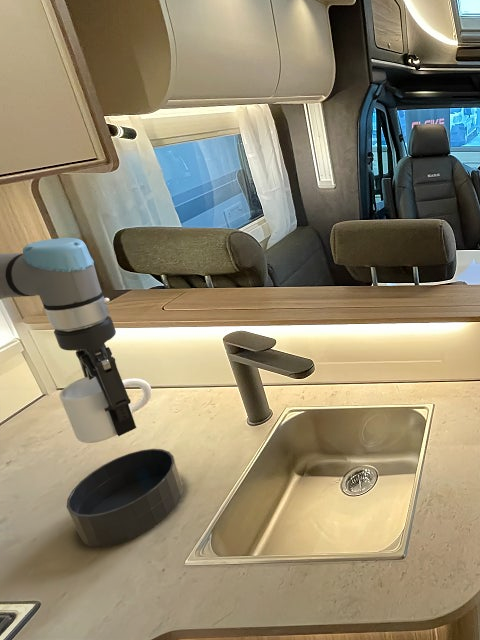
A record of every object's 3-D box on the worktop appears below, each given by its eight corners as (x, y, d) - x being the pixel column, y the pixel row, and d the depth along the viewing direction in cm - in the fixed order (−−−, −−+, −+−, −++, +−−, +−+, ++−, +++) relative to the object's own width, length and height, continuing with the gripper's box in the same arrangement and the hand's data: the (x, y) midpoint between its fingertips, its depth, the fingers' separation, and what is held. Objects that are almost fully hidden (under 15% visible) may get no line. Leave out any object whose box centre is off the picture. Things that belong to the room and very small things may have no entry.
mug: (153, 400, 90) (141, 359, 86) (161, 418, 84) (148, 376, 81) (75, 429, 81) (58, 385, 78) (79, 451, 76) (60, 405, 72)
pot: (69, 518, 83) (55, 488, 80) (165, 465, 96) (156, 438, 93) (95, 564, 75) (81, 533, 72) (196, 499, 88) (187, 470, 85)
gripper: (130, 330, 73) (163, 432, 81) (91, 300, 83) (123, 392, 91) (72, 349, 67) (113, 457, 74) (37, 314, 77) (76, 412, 85)
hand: (118, 422), depth 83 cm, fingers closed on mug, 8 cm apart
